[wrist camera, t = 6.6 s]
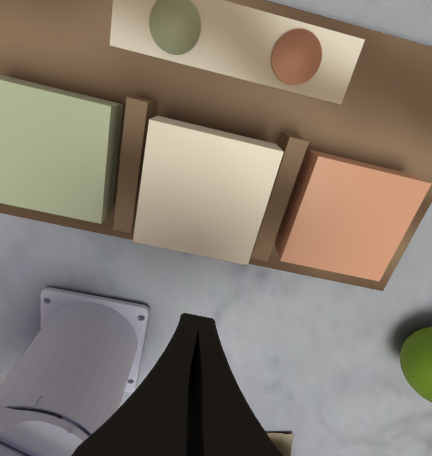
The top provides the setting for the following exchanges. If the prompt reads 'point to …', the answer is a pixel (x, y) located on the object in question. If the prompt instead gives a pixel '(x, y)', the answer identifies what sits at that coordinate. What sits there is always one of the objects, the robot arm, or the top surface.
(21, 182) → the green key
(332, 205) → the terracotta key
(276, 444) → the condiment
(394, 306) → the top surface
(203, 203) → the cream key
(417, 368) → the snail figurine
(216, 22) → the keypad board
